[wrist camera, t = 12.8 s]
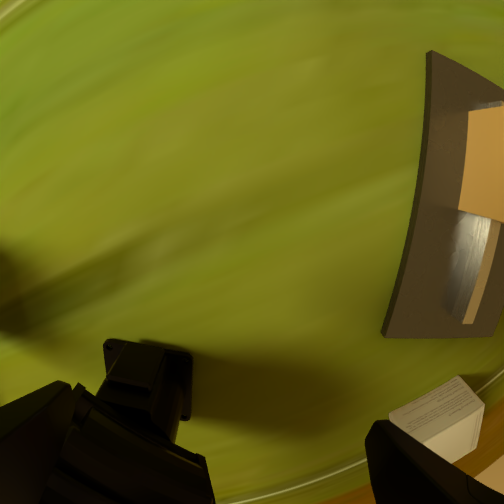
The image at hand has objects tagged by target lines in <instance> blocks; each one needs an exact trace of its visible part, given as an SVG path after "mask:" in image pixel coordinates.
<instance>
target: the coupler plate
mask: <svg viewBox="0 0 504 504" xmlns="http://www.w3.org/2000/svg"><path fill="white" fill-rule="evenodd" d="M500 106H504V90H503V89H502V88H500V87H499V86H497V85H496V84H494V83H492V82H491V81H489V80H487V79H486V78H484V77H482V76H481V75H479V74H477V73H476V72H474V71H472V70H470V69H468V68H467V67H465V66H463V65H461V64H459V63H457V62H455V61H453V60H451V59H449V58H447V57H445V56H443V55H441V54H439V53H437V52H435V51H433V50H431V51H429V52H427V53H426V88H425V108H424V122H423V134H422V144H421V153H420V161H419V169H418V176H417V183H416V189H415V195H414V201H413V207H412V212H411V217H410V222H409V227H408V232H407V237H406V242H405V246H404V250H403V255H402V259H401V263H400V267H399V271H398V275H397V279H396V282H395V286H394V290H393V293H392V297H391V300H390V304H389V307H388V310H387V314H386V317H385V320H384V323H383V327H382V330H381V334H382V335H383V336H384V338H468V337H491V336H493V333H494V331H495V328H496V326H497V323H498V321H499V318H500V315H501V312H502V310H503V307H504V224H503V223H501V222H499V221H496V220H493V219H490V218H486V217H483V216H479V215H475V214H472V213H468V212H465V211H461V210H458V206H459V200H460V194H461V188H462V181H463V174H464V166H465V156H466V146H467V133H468V115H469V111H474V110H480V109H487V108H493V107H500Z"/></svg>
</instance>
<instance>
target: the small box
mask: <svg viewBox="0 0 504 504" xmlns="http://www.w3.org/2000/svg"><path fill="white" fill-rule="evenodd" d="M484 407H485V404H484V403H483V402H482V401H481V400H480V398H479V397H478V396H477V395H476V394H475V393H474V391H473V390H472V389H471V388H470V387H469V386H468V385H467V384H466V383H465V381H464V380H463V379H462V378H461V377H460V376H459V375H457V376H456V377H454V378H452V379H451V380H449V381H447V382H446V383H444V384H442V385H441V386H439V387H437V388H436V389H434V390H432V391H430V392H428V393H427V394H425V395H423V396H421V397H419V398H417V399H415V400H414V401H412V402H410V403H408V404H406V405H404V406H402V407H400V408H398V409H396V410H394V411H391V412H390V413H389V420H390V421H391V422H392V423H394V424H395V425H396V426H398V427H399V428H401V429H402V430H403V431H405V432H406V433H408V434H409V435H410V436H412V437H413V438H415V439H416V440H417V441H419V442H420V443H422V444H423V445H425V446H426V447H427V448H429V449H430V450H432V451H433V452H435V453H436V454H438V455H439V456H441V457H442V458H444V459H445V460H446V461H448V462H449V463H451V464H452V463H453V462H455V461H457V460H458V459H460V458H462V457H463V456H465V455H466V454H468V453H469V452H471V451H473V450H474V449H476V447H477V443H478V438H479V434H480V429H481V423H482V418H483V413H484Z"/></svg>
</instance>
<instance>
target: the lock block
mask: <svg viewBox="0 0 504 504" xmlns="http://www.w3.org/2000/svg"><path fill="white" fill-rule="evenodd" d="M458 210H461V211H465V212H468V213H472V214H475V215H479V216H483V217H486V218H490V219H493V220H496V221H499V222H501V223H503V224H504V106H500V107H493V108H487V109H480V110H474V111H469V115H468V133H467V146H466V156H465V166H464V174H463V181H462V188H461V194H460V200H459V206H458Z"/></svg>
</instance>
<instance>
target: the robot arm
mask: <svg viewBox="0 0 504 504" xmlns="http://www.w3.org/2000/svg"><path fill="white" fill-rule="evenodd" d="M108 345H111V346H112V348H111V347H109V346H108ZM103 351H104V359H105V367H106V374H107V375H106V378H105V380H104V381H103V383H102V385H101V387H100V388H99V390H98V392H97V394H96V395H95V396H94V395H93V394H91V393H90V392H88V391H87V390H86V389H85V387H84V386H83V385H81V384H80V383H79V382H78V383H77V385H76V386H75V388H74V389H73V390H72V388H71V385H70V384H68V383H66V382H63V381H59V380H57V381H55V382H53V383H51V384H48V385H46V386H44V387H42V388H40V389H38V390H36V391H34V392H32V393H29V394H27V395H25V396H23V397H21V398H19V399H17V400H14V401H12V402H10V403H8V404H6V405H4V406H1V407H0V504H216V503H215V497H214V493H213V489H212V485H211V481H210V477H209V473H208V468H207V464H206V460H205V457H204V456H202V455H200V454H198V453H196V454H194V453H192V452H190V451H188V450H186V449H184V448H182V447H180V446H178V445H176V444H175V440H176V435H177V431H178V426H179V421H180V420H181V421H188V420H190V417H191V399H192V376H193V357H192V355H191V354H189V353H186V352H179V351H173V350H167V349H162V348H159V347H154V346H148V345H142V344H137V343H132V342H123V341H118V340H113V339H107V340H106V341H105V342H104V344H103ZM183 359H187V360H188V361H184V360H183ZM184 415H186V416H184ZM365 449H366V455H367V462H368V468H369V475H370V481H371V486H372V490H373V493H374V497H375V501H376V504H504V495H503V494H501V493H499V492H497V491H495V490H492V489H491V488H489V487H487V486H485V485H484V484H482V483H480V482H479V481H477V480H475V479H474V478H472V477H471V476H469V475H466V473H465V472H463V471H461V470H460V469H458V468H457V467H455V466H454V465H452V464H451V463H449V462H448V461H446V460H445V459H444V458H442V457H441V456H439V455H438V454H436V453H435V452H433V451H432V450H430V449H429V448H427V447H426V446H425V445H423V444H422V443H420V442H419V441H417V440H416V439H415V438H413V437H412V436H410V435H409V434H408V433H406V432H405V431H403V430H402V429H401V428H399V427H398V426H396V425H395V424H394V423H392V422H391V421H389V420H377V421H375V422H374V423H373V425H372V427H371V429H370V431H369V433H368V434H367V436H366V439H365Z"/></svg>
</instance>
